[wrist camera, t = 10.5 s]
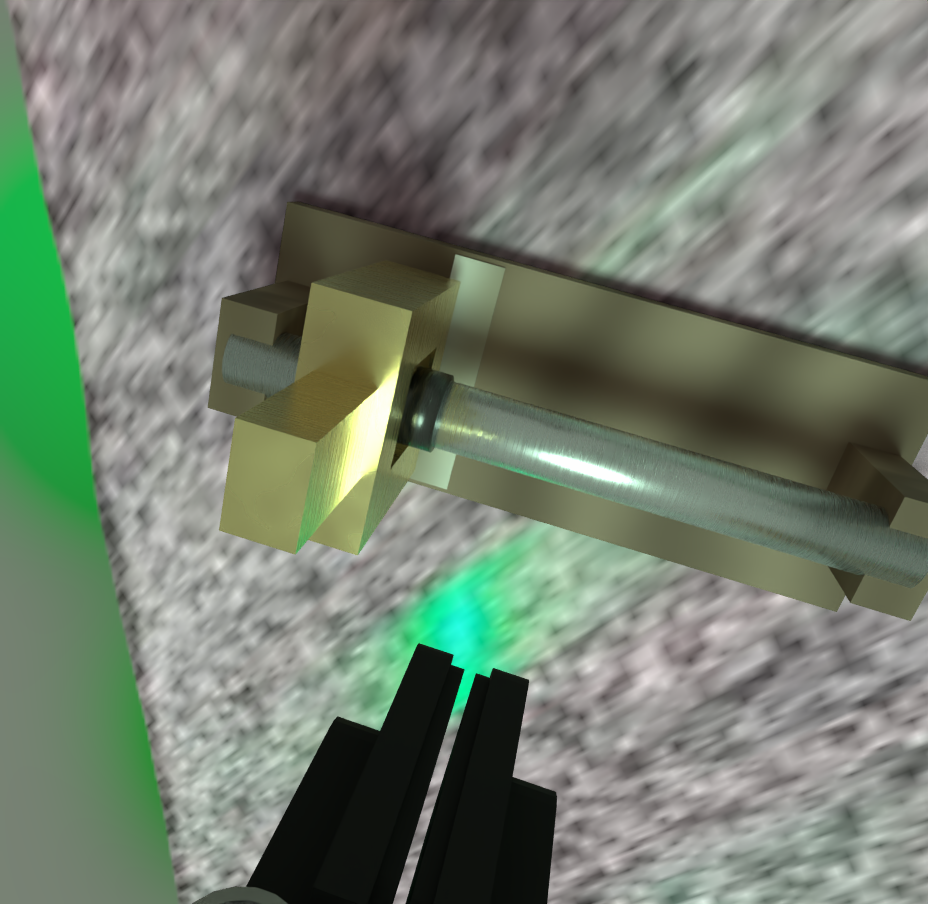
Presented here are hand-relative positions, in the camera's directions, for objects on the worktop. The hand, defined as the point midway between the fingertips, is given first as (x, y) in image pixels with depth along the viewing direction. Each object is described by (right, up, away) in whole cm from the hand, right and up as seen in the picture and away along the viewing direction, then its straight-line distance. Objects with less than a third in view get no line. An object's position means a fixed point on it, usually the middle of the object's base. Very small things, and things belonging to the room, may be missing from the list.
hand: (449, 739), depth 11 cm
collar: (-2, +7, +19) cm, 20 cm away
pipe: (+4, +5, +16) cm, 17 cm away
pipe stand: (+5, +6, +20) cm, 22 cm away
